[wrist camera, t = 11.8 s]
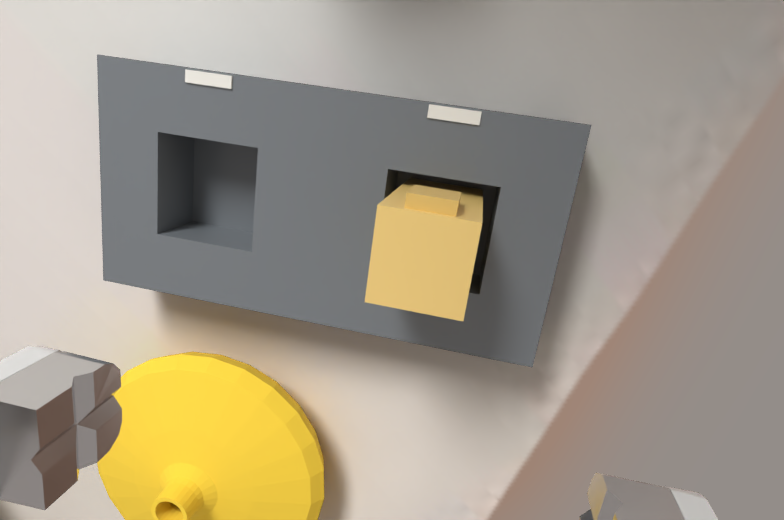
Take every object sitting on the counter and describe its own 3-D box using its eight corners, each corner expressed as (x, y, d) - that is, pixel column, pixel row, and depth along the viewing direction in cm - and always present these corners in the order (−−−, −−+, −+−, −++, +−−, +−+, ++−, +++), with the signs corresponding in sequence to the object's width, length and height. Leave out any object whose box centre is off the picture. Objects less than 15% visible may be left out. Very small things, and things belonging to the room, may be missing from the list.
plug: (411, 166, 28) (379, 189, 19) (485, 178, 27) (485, 207, 19) (399, 247, 29) (364, 302, 21) (469, 260, 29) (463, 321, 20)
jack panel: (147, 62, 29) (95, 54, 25) (575, 123, 26) (591, 125, 22) (147, 261, 33) (102, 280, 29) (526, 335, 30) (532, 368, 26)
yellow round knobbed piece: (352, 363, 32) (317, 428, 26) (323, 557, 37) (288, 654, 30) (124, 312, 34) (37, 359, 28) (124, 502, 39) (50, 582, 32)
